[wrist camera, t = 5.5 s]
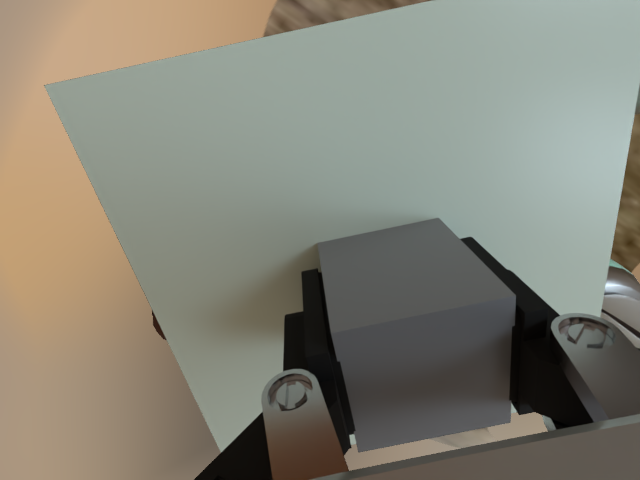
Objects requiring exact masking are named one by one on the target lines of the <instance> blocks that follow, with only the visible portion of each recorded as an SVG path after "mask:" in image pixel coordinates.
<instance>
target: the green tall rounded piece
mask: <svg viewBox="0 0 640 480" xmlns="http://www.w3.org/2000/svg"><path fill="white" fill-rule="evenodd" d="M600 318H603V319H605V320H607V321H609V322H611V323H612V324H614V325H615V326H616V327H617V328H619V329H620V330H621V331H622V333H623V334H624V335H625V336H626V337H627V338H628V339H629V340H630V341H631V342H632V344H633V345H634V346H635V347H636V348H640V284H639V282H638V281H637V279H636V278H635V277H634V275H633V274H631V273H630V272H629V271H628V270H627V269H625V268H624V267H622V266H621V265H619V264H618V263H616V262H615V261H613V260H612V259H610V262H609V268H608V274H607V280H606V286H605V292H604V298H603V304H602V310H601V316H600Z"/></svg>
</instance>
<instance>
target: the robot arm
mask: <svg viewBox="0 0 640 480" xmlns="http://www.w3.org/2000/svg"><path fill="white" fill-rule="evenodd" d="M635 114H640V85H639V91H638V97H637V102H636V108H635ZM460 240H461V241H462V242H463V243H464V244H465V245H466V246H467V247H468V248H469V249H470V250H471V251H472V252H473V253H474V254H475V255H476V256H477V257H478V258H479V259H480V260H481V261H482V262H483V263H484V264H485V265H486V266H487V267H488V268H489V269H490V270H491V271H492V272H493V273H494V274H495V275H496V276H497V277H498V278H499V279H500V280H501V281H502V282H503V283H504V284H505V285H506V286H507V287H508V288H509V289H510V290H511V291H512V292H513V293H514V294H515V295H516V308H515V326H512V341H511V365H510V390H509V401H510V400H511V403H512V405H513V406H514V408H515V409H516V411H517V412H518V414H519V415H521V414H527V413H532V412H536V413H539V414H541V415H542V417H543V420H544V424H545V425H546V428H547V430H548V432H543V433H538V434H533V435H527V436H522V437H517V438H512V439H507V440H502V441H497V442H492V443H487V444H481V445H476V446H471V447H466V448H461V449H456V450H451V451H446V452H441V453H436V454H431V455H426V456H421V457H416V458H411V459H406V460H401V461H396V462H392V463H387V464H382V465H377V466H372V467H367V468H362V469H357V470H352V471H349V469H348V466H347V464H346V461H345V458H344V455H345V453H346V452H347V451H348V449H349V448H351V443H350V436H349V435H352V434H354V431H356V430H355V425H354V421H353V416H352V412H351V407H350V403H349V399H348V394H347V390H346V385H345V381H344V377H343V372H342V368H341V363H340V361H337V357H336V353H335V349H334V344H333V340H332V336H331V331H330V324H329V317H328V311H327V304H326V297H325V291H324V284H323V277H322V272H318V268H316V269H311V270H306V271H302V272H301V276H302V296H303V311H301V312H296V313H291V314H286V315H285V318H284V354H283V372H281V373H279V374H277V375H276V376H275V377H273V378H272V379H271V380H270V381H269V382H268V383H267V384H266V386H265V387H264V390H263V392H262V398H261V403H262V410H263V412H262V413H261V414H260V415H259V416H258V417H257V418H256V419H255V420H254V421H253V422H252V423H251V424H250V425H249V426H248V427H247V428H246V429H245V430H244V431H243V432H242V433H240V434H239V435H238V436H237V437H236V438H235V439H234V440H233V441H232V442H231V443H230V444H229V445H228V446H227V447H226V448H225V449H224V450H223V451H222V452H221V454H219V455H218V456H217V458H216V459H214V460H213V461H212V462H211V463H210V464H209V465H208V466H207V467H206V468H205V469H204V470H203V471H202V472H201V473H200V474H199V475H198V476H197V477H196V478H195V479H194V480H640V348H636V347H635V346H634V345H633V344H632V342H631V341H630V340H629V339H628V338H627V337H626V336H625V335H624V334H623V333H622V331H621V330H620V329H619V328H617V327H616V326H615V325H614V324H612V323H611V322H609V321H607V320H605V319H603V318H600V317H597V316H594V315H589V314H583V313H569V314H563V315H561V316H560V315H559V314H558V313H557V312H556V311H555V310H554V309H553V308H552V307H551V306H549V305H548V304H547V303H546V302H545V301H544V300H543V299H542V298H541V297H540V296H539V295H537V294H536V293H535V292H534V291H533V290H532V289H531V288H530V287H529V286H528V285H526V284H525V283H524V282H523V281H522V280H521V279H520V278H519V277H518V276H517V275H516V274H514V273H513V272H512V271H511V270H507V269H506V268H505V267H504V266H503V265H502V264H500V263H499V262H498V261H497V260H496V259H495V258H494V257H493V256H492V255H491V254H490V253H489V252H488V251H487V250H485V249H484V248H483V247H482V246H481V245H480V244H479V243H478V242H477V241H476V240H475V239H474V238H472V237H466V238H461V239H460Z"/></svg>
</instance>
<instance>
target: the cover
mask: <svg viewBox="0 0 640 480" xmlns="http://www.w3.org/2000/svg"><path fill="white" fill-rule="evenodd" d="M639 85H640V0H432V1H427V2H422V3H418V4H413V5H409V6H404V7H400V8H395V9H390V10H386V11H381V12H377V13H372V14H368V15H363V16H358V17H354V18H349V19H345V20H340V21H336V22H331V23H326V24H322V25H317V26H313V27H308V28H304V29H299V30H294V31H290V32H285V33H281V34H276V35H272V36H267V37H262V38H258V39H253V40H249V41H244V42H240V43H235V44H230V45H226V46H221V47H217V48H213V49H208V50H203V51H199V52H194V53H190V54H185V55H180V56H176V57H172V58H166V59H162V60H157V61H153V62H148V63H144V64H139V65H134V66H130V67H126V68H121V69H116V70H112V71H107V72H102V73H98V74H93V75H89V76H84V77H79V78H75V79H70V80H66V81H61V82H57V83H52V84H47V85H44V86H45V88H46V90H47V92H48V94H49V96H50V99H51V101H52V103H53V105H54V107H55V109H56V111H57V113H58V115H59V117H60V119H61V121H62V124H63V126H64V128H65V130H66V132H67V134H68V136H69V138H70V140H71V142H72V144H73V146H74V148H75V151H76V153H77V155H78V157H79V159H80V161H81V163H82V165H83V167H84V169H85V171H86V173H87V175H88V178H89V180H90V182H91V184H92V186H93V188H94V190H95V192H96V194H97V196H98V198H99V200H100V203H101V205H102V207H103V208H104V211H105V213H106V215H107V217H108V219H109V221H110V223H111V225H112V227H113V229H114V232H115V234H116V236H117V238H118V240H119V242H120V244H121V246H122V248H123V250H124V252H125V254H126V256H127V259H128V260H129V263H130V265H131V267H132V269H133V271H134V273H135V275H136V277H137V279H138V281H139V283H140V286H141V288H142V290H143V292H144V294H145V296H146V298H147V300H148V302H149V304H150V306H151V308H152V310H153V313H154V315H155V317H156V319H157V321H158V323H159V325H160V327H161V329H162V331H163V333H164V335H165V337H166V340H167V342H168V344H169V346H170V348H171V350H172V352H173V354H174V356H175V358H176V360H177V362H178V364H179V366H180V368H181V371H182V373H183V375H184V377H185V379H186V381H187V383H188V385H189V387H190V389H191V391H192V394H193V396H194V398H195V400H196V401H197V404H198V406H199V408H200V410H201V412H202V414H203V416H204V418H205V420H206V423H207V424H208V427H209V429H210V431H211V433H212V435H213V437H214V439H215V441H216V443H217V445H218V447H219V449H220V452H222V451H223V450H224V449H225V448H226V447H227V446H228V445H229V444H230V443H231V442H232V441H233V440H234V439H235V438H236V437H237V436H238V435H239V434H240V433H242V432H243V431H244V430H245V429H246V428H247V427H248V426H249V425H250V424H251V423H252V422H253V421H254V420H255V419H256V418H257V417H258V416H259V415H260V414H261V413H262V412H263V410H262V403H261V398H262V392H263V390H264V387H265V386H266V384H267V383H268V382H269V381H270V380H271V379H272V378H273V377H275V376H276V375H277V374H279V373H281V372H283V354H284V318H285V315H286V314H291V313H296V312H301V311H303V296H302V276H301V272H302V271H306V270H311V269H316V268H318V272H322V277H323V284H324V291H325V297H326V304H327V311H328V317H329V324H330V331H331V336H332V340H333V344H334V349H335V353H336V357H337V361H340V363H341V368H342V372H343V377H344V381H345V385H346V390H347V394H348V399H349V403H350V407H351V412H352V416H353V421H354V425H355V430H356V431H354V434H352V435H349V436H350V443H351V445H352V444H357V448H358V452H363V451H368V450H374V449H378V448H384V447H389V446H394V445H398V444H404V443H409V442H414V441H419V440H424V439H429V438H434V437H440V436H445V435H450V434H455V433H460V432H465V431H470V430H475V429H480V428H485V427H490V426H495V425H500V424H505V423H510V421H511V420H510V419H511V413H515V412H517V411H516V409H515V408H514V406H513V405H512V403H511V400H510V401H509V390H510V365H511V341H512V326H515V308H516V295H515V294H514V293H513V292H512V291H511V290H510V289H509V288H508V287H507V286H506V285H505V284H504V283H503V282H502V281H501V280H500V279H499V278H498V277H497V276H496V275H495V274H494V273H493V272H492V271H491V270H490V269H489V268H488V267H487V266H486V265H485V264H484V263H483V262H482V261H481V260H480V259H479V258H478V257H477V256H476V255H475V254H474V253H473V252H472V251H471V250H470V249H469V248H468V247H467V246H466V245H465V244H464V243H463V242H462V241H461V240H460V239H461V238H466V237H472V238H474V239H475V240H476V241H477V242H478V243H479V244H480V245H481V246H482V247H483V248H484V249H485V250H487V251H488V252H489V253H490V254H491V255H492V256H493V257H494V258H495V259H496V260H497V261H498V262H499V263H500V264H502V265H503V266H504V267H505V268H506V269H507V270H511V271H512V272H513V273H514V274H516V275H517V276H518V277H519V278H520V279H521V280H522V281H523V282H524V283H525V284H526V285H528V286H529V287H530V288H531V289H532V290H533V291H534V292H535V293H536V294H537V295H539V296H540V297H541V298H542V299H543V300H544V301H545V302H546V303H547V304H548V305H549V306H551V307H552V308H553V309H554V310H555V311H556V312H557V313H558V314H559V315H560V316H561V315H563V314H569V313H583V314H589V315H594V316H597V317H600V316H601V310H602V304H603V298H604V292H605V286H606V280H607V274H608V268H609V262H610V256H611V250H612V245H613V239H614V233H615V227H616V221H617V215H618V209H619V203H620V197H621V191H622V185H623V179H624V173H625V168H626V162H627V156H628V150H629V144H630V138H631V132H632V126H633V120H634V114H635V108H636V102H637V97H638V91H639Z"/></svg>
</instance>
